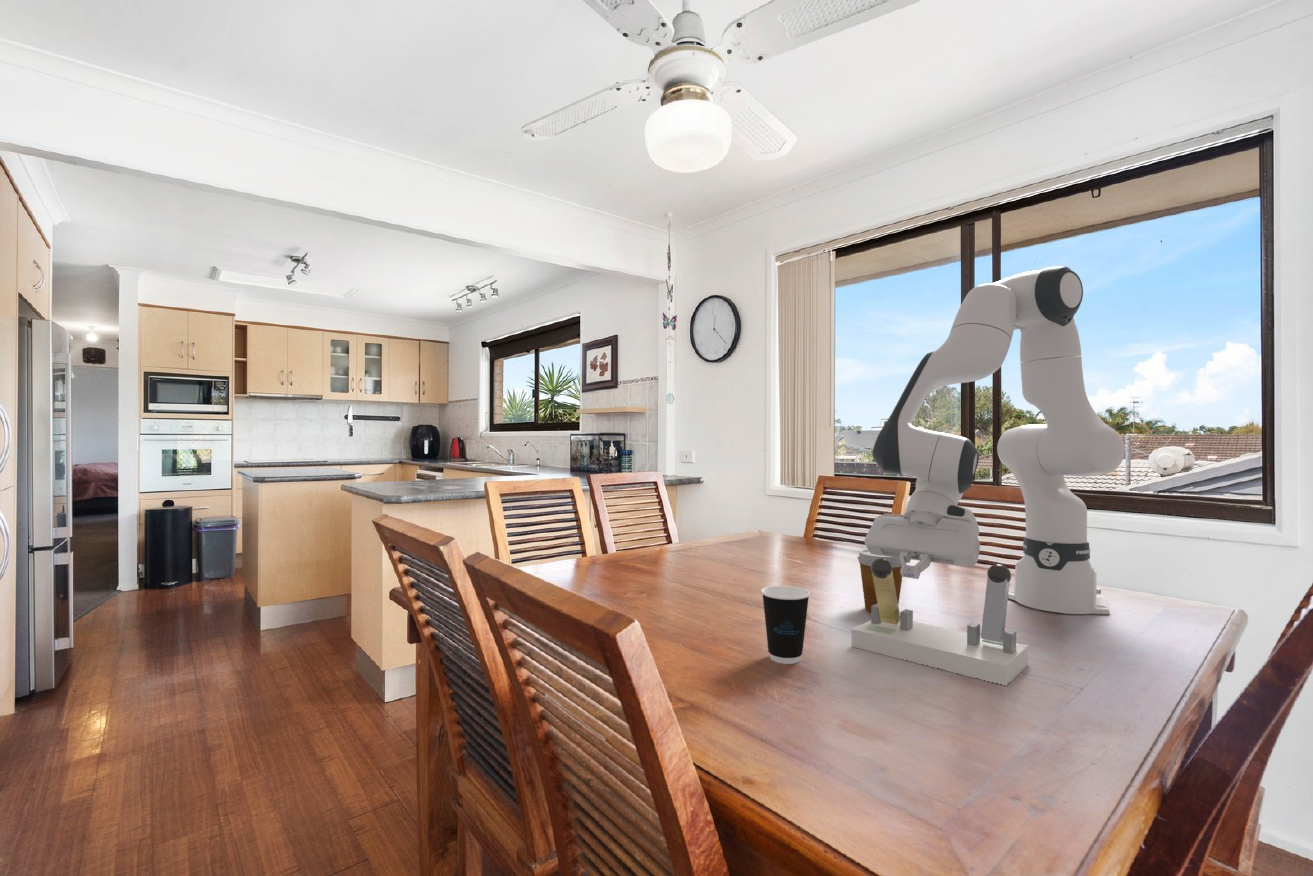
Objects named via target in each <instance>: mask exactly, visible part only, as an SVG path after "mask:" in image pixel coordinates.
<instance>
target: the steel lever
mask: <svg viewBox="0 0 1313 876" xmlns="http://www.w3.org/2000/svg"><path fill="white" fill-rule="evenodd" d="M986 575H987V580H986V586H985V587H986V588H985V596H984V597H985V598H984V605H983V606H984V607H983V613H982V614H983V615H982V622H981V630H980V636H981V638H982V639H984V640H989V641H994V642H999V643H1003V632H1005V631H1006V630H1005V629H1006V622H1007V611H1008V601H1009V598H1008V594H1009V592H1010V584H1011V579H1012V573H1011V570H1010V569H1009V567H1008V566H1005V565H1003V564H999V563H997V564H992V565H991V566H990V567H988V569H987V572H986Z"/></svg>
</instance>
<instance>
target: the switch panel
mask: <svg viewBox="0 0 1313 876" xmlns="http://www.w3.org/2000/svg"><path fill="white" fill-rule="evenodd" d="M899 612H900V621H899V623H898V624H897V625H894V624H889V623H885V622H881V619H880V614H879V608H878V604H875V605H873V606H871V612H870V615H871V616H870V620H869V621H866V622H864V623H862V624H860V625H857V626H855V627H853V628H852V629H851V647H852V648H855V649H859V650H865V651H867V652H872V653H875V654H878V655H883V656H887V657H891V658H896V659H899V660H902V659H904V660H903V661H906V660H908V662H910V661H911V662H910V663H914V662H915V664H919V665H922V664H925V665H924V666H926V665H928V666H927V667H931V668H933V667H934V668H933V669H937V668H940V669H939V670H941V669H943V670H942V671H945V670H946V672H949V673H955V674H957V673H959V674H958V675H961V674H962V675H961V676H964V677H965V676H966V677H968V678H972V679H973V678H974V679H976V678H979V679H978V680H980V679H981V680H980V681H984V680H985V681H984V682H988V681H989V682H988V683H992V682H994V683H993V684H996V683H998V684H997V685H1000V684H1002V685H1001V686H1004V685H1005V687H1007V686H1008V685H1009V684H1010V683H1011V682H1012V681H1013V680H1014V679H1016V678H1017V676H1019V674H1020V673H1021V672H1023V670H1024V669H1025V668H1026V667H1027V666H1028V665H1029V645H1027V644H1022V643H1018V642H1017V630H1013V629H1006V630H1005V632H1003V643H999V642H994V641H989V640H984V639H982V638H981V624H980V623H978V622H977V623H976V622H971V623H969V624H967V626H966V632H965V631H960V630H957V629H953V628H952V629H950V628H947V627H946V628H945V627H941V626H938V625H933V624H927V623H924V622H923V623H922V622H918V621H914V618H913V617H914V610H912V609H909V608H908V609H903V610H901V611H899ZM1009 682H1010V683H1009ZM1008 683H1009V684H1008ZM1007 684H1008V685H1007Z"/></svg>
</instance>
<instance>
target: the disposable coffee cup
mask: <svg viewBox="0 0 1313 876" xmlns="http://www.w3.org/2000/svg"><path fill="white" fill-rule="evenodd" d="M878 558H883V559H886V560H888V561H889V562H890V564H891V566H892V572H893V578H894V584H895V589H896V595H897V601H898V605H900V604H899V603H900V598H901V596H900V595H901V589H902V582H903V577H902V576H901V574H900V570H901V567H902V563H901V560H900V558H897V557H889V556H882V555H874V554H871V553H870V552H869V550H868V549H861V550H859V553H858V556H857V560H858V563H859V568H860V577H861V582H862V585H861V586H862V592H863V600H864V608H865V611H867V612H869V613H871V606H873V605H875V604H878V603H877V597H876V592H875V587H874V581H873V576H872V571H871V564H872V562H873V561H874V560H876V559H878Z"/></svg>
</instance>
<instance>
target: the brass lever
mask: <svg viewBox="0 0 1313 876" xmlns="http://www.w3.org/2000/svg"><path fill="white" fill-rule="evenodd" d="M871 571H872V576H873V581H874V587H875V592H876V597H877V603H878V608H879V614H880V619H881V622H885V623H889V624H894V625H897V624H898V623H899V621H900V612H901V611H900V607H899V604H898V601H897V595H896V589H895V584H894V578H893V572H892V566H891V564H890V562H889V561H888V560H886V559H883V558H878V559H876V560H874V561H873V562H872V564H871Z"/></svg>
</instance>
